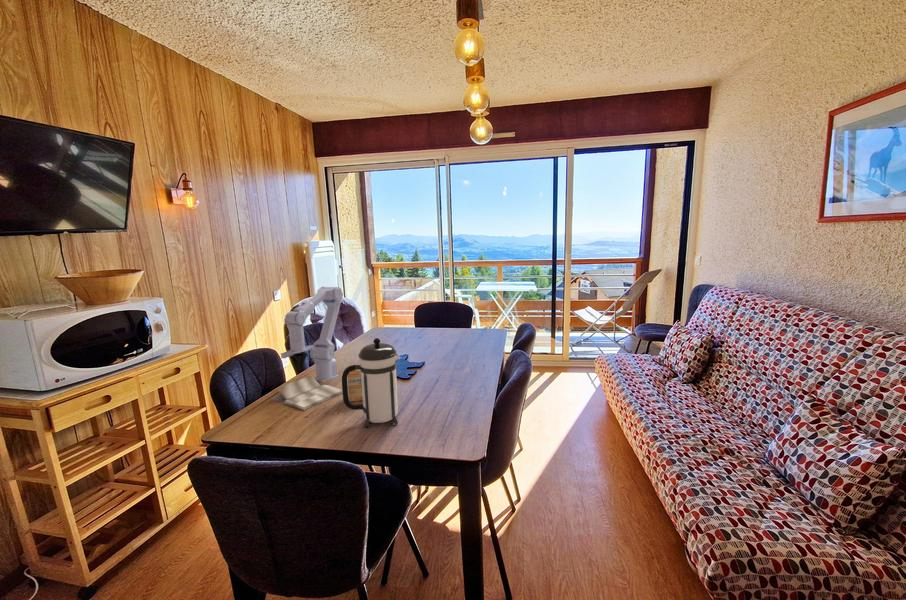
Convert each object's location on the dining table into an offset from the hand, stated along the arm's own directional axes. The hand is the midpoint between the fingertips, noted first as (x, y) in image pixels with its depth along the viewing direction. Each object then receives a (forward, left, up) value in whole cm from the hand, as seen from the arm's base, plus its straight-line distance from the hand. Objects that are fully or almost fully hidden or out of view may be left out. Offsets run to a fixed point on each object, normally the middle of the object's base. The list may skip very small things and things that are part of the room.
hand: (299, 369), depth 157 cm
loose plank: (+3, +2, -7) cm, 8 cm away
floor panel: (+3, +8, -9) cm, 13 cm away
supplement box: (-6, +28, -10) cm, 31 cm away
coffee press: (+4, +48, -10) cm, 50 cm away
